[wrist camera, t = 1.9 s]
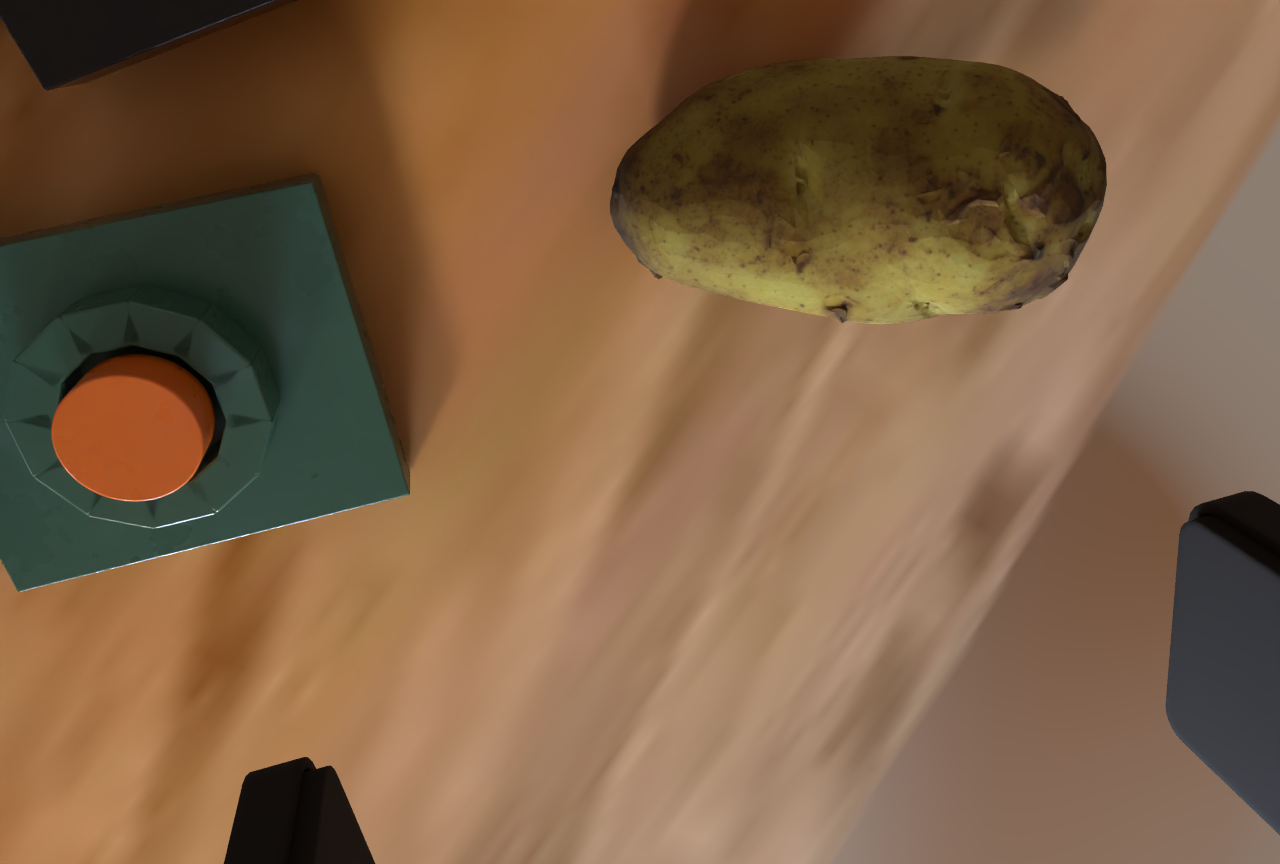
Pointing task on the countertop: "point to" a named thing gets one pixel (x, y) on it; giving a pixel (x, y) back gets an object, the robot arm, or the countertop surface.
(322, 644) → the countertop surface
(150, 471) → the button
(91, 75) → the hob console
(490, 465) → the countertop surface
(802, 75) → the potato
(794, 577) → the countertop surface
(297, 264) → the block
